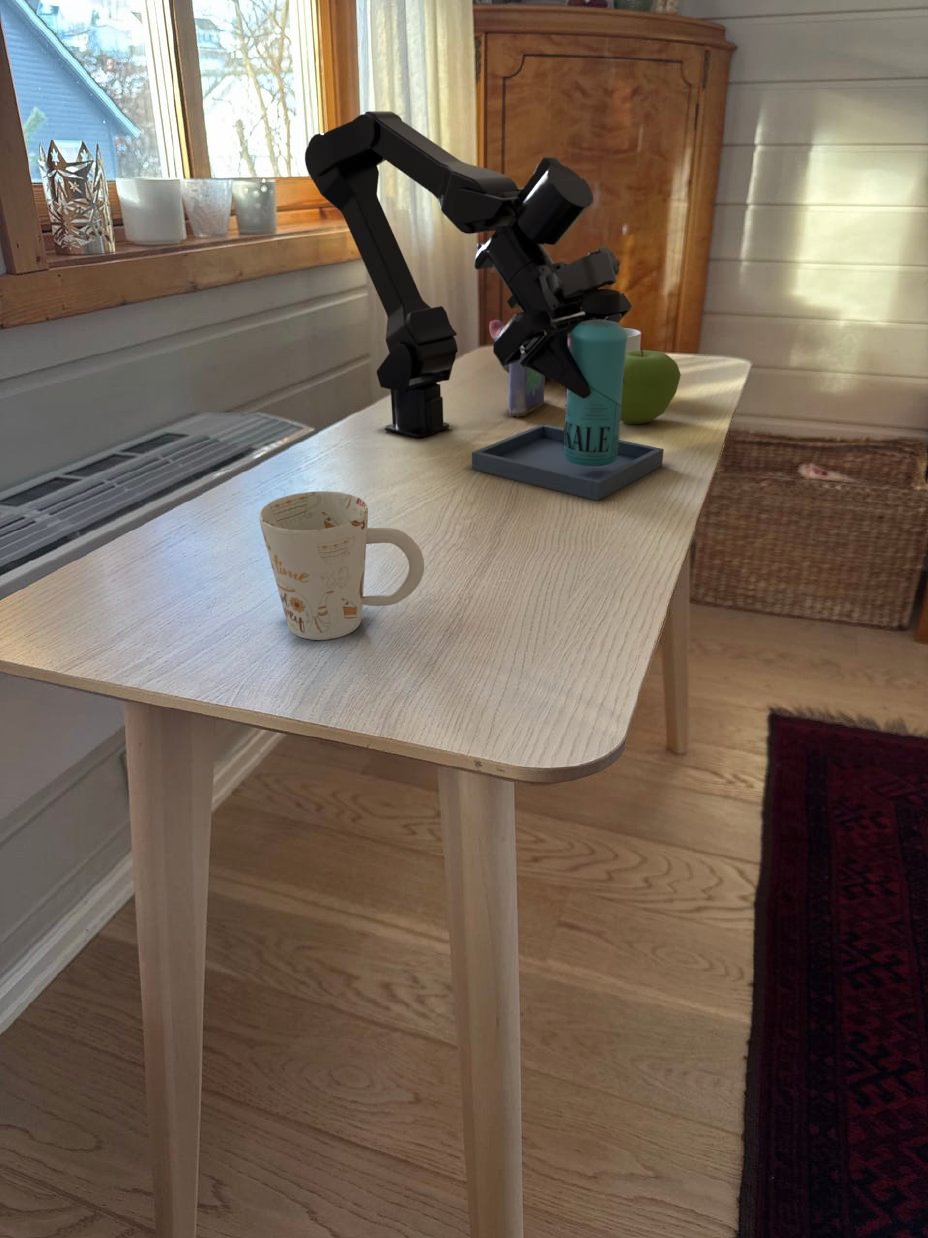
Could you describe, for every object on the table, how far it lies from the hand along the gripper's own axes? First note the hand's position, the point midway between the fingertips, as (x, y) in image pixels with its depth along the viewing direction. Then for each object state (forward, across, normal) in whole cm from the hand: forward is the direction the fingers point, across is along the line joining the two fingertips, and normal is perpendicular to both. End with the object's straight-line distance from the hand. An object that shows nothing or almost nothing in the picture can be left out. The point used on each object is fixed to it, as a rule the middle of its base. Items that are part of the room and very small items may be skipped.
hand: (604, 390), depth 99 cm
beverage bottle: (+6, 0, +8) cm, 10 cm away
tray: (+4, +1, +11) cm, 12 cm away
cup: (-8, +33, +23) cm, 41 cm away
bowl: (-19, +32, +34) cm, 50 cm away
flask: (-10, +17, +26) cm, 32 cm away
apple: (+1, +22, +14) cm, 27 cm away
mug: (+11, -42, +4) cm, 43 cm away
